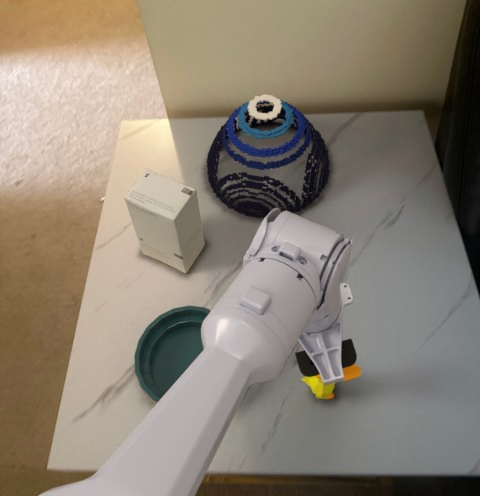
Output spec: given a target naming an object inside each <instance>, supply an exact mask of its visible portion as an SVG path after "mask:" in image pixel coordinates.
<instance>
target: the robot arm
mask: <svg viewBox="0 0 480 496" xmlns="http://www.w3.org/2000/svg"><path fill="white" fill-rule="evenodd" d="M271 210H272V211H271V212H270V213H269V214H268V215H267V216H266V217H265V218H264V217H263V220H262V221H261V223H260V225H259V227H258V229H257V231H256V233H255V235H254V237H253V239H252V242H251V244H250V245H249V248H248V249H247V250H246V252H245V254H244V255H243V257H242V258H243V259H242V269H241V270H240V272H238V275H237V276H236V277H235V279H234V280H233V281H232V283H231V284H230V285H229V286H228V288H227V289H226V291H225V292H224V293H223V295H222V296H221V297H220V298H219V300H218V301H217V302H216V304H215V305H214V306H213V307H212V309H210V310H211V311H210V313H209V314H208V316H207V317H206V318H205V319H204V321H203V323H202V326H201V339H202V344H203V349H204V350H203V351H202V352H201V354H200V355H199V356H198V357H197V358H196V359H195V360H194V362H193V363H192V364H191V365H190V366H189V367H188V368H187V370H186V371H185V372H184V373H183V374H182V375H181V376H180V378H179V379H178V380H177V381H176V382H175V383H174V384H173V386H172V387H171V388H170V389H169V390H168V391H167V392H166V394H165V395H164V396H163V397H162V398H161V399H160V400H159V402H158V403H157V404H156V405H155V404H154V406H153V407H152V408H151V409H150V410H149V412H148V413H147V414H146V415H145V416H144V417H143V419H142V420H141V421H140V422H139V423H138V424H137V426H135V427H134V429H133V430H132V431H131V432H130V433H129V435H127V437H126V438H125V439H124V440H123V442H121V444H120V445H119V446H118V447H117V448H116V450H114V452H113V453H112V454H111V455H110V456H109V457H108V458H107V459H106V461H105V462H104V463H103V464H102V465H101V467H99V469H98V470H97V471H96V472H95V473H94V474H92V475H91V476H89V477H87V478H85V479H83V480H78V481H74V482H70V483H67V484H63V485H58V486H55V487H51V488H50V489H48V490H46V491H44V492H41V493H40V494H38V495H37V496H196V494H197V493H198V491H199V489H200V486H201V484H202V482H203V480H204V478H205V476H206V474H207V473H208V470H209V468H210V467H211V465H212V462H213V460H214V458H215V456H216V454H217V452H218V450H219V448H220V446H221V443H222V442H223V439H224V437H225V436H226V434H227V431H228V429H229V427H230V425H231V424H232V421H233V419H234V417H235V415H236V412H237V411H238V409H239V407H240V405H241V403H242V400H243V399H244V397H245V395H246V392H247V391H248V389H249V387H250V386H252V385H257V384H263V383H264V384H265V383H268V382H270V381H273V380H274V379H275V378H277V376H278V375H279V374H280V372H281V371H282V368H283V366H284V365H285V363H286V361H287V360H288V358H289V356H290V354H291V353H292V351H293V349H294V347H295V345H296V344H297V342H298V343H299V345H300V346H301V347H302V349H303V350H300V351H297V352H296V351H295V352H294V356H295V358H296V363H297V366H298V368H299V371H300V373H301V374H302V375H303V376H304V377H313V376H316V375H320V376H321V379H322V382H323V385H328V384H332V383H335V384H336V383H339V382H344V381H343V380H344V374H343V370H342V368H346V367H350V366H352V365H353V364H355V365H356V362H357V358H358V355H357V351H356V348H355V344H354V342H353V339H352V338H347V339H344V340H343V323H344V322H343V321H344V309H345V307H347V306H351V305H352V304H353V302H354V296H353V293H352V290H351V286H350V285H349V283H347V282H342V281H343V279H344V277H345V274H346V271H347V269H348V265H349V262H350V259H351V254H352V248H353V241H354V239H353V237H352V238H348V237H345V234H344V233H342V232H339V231H337V230H336V229H335V230H334V229H333V228H330V227H327V226H326V225H322V224H321V223H318V222H315V221H313V220H310V219H309V218H305V217H303V216H300V215H299V214H297V213H295V212H294V213H291V212H289V210H285V211H283V210H281V209H280V207H276V208H275V209H271Z"/></svg>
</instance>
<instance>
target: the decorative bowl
mask: <svg viewBox="0 0 480 496" xmlns="http://www.w3.org/2000/svg"><path fill="white" fill-rule="evenodd" d="M278 119H279V120H283V122H277V120H278ZM258 120H260V123H259V122H258ZM249 123H250V124H249ZM237 124H238V125H237ZM275 125H276V126H278V127H275V128H273V129H271V130H265V129H264V130H263V131H262V130H259V129H258V128H254V127H258V126H259V127H261V126H275ZM237 127H238V128H237ZM251 127H252V128H251ZM288 129H292V130H295V132H294V133H295V134H294V135H293V136H292V138H291V139H289V141H285V143H283V144H282V145H281V144H279V145H278V147H276V146H275V147H274V148H273V147H266V148H263V147H261V148H255V146H252V145H251V144H247V143H244V142H243V140H242V139H241V138H239V135H238V134H237V132H240V131H241V132H242V133H244V134H245V135H249V137H254V139H258V140H263V139H265V140H267V139H274V138H278V137H280V136H283V135H285V133H287V132H288ZM304 135H305V136H304ZM303 137H304V140H303ZM301 140H303V143H302V144H301V145H300V146H298V144H300V142H301ZM228 141H229V142H230V143H231V145H232V146H234V147H235V148H236V150H239V151H240V152H242V153H243V154H247V156H250V157H251V156H252V157H257V158H264V159H266V157H267V158H272V157H276V158H277V157H278V156H279V157H280V156H283V155H285V154H287V153H289V152H291V151H293V149H295V148H297V147H298V149H297V150H295V152H293V153H291V154H289V155H288V157H286V156H285V157H284V158H283V157H282V159H280V160H279V159H278V160H271V161H267V162H266V163H264V162H263V161H257V160H251V159H249V160H247V157H244V155H241V154H240V153H235V150H234V149H231V146H229V142H228ZM311 142H312V145H311V149H310V152H309V153H308V154H307V158H306V163H305V167H304V168H305V170H304V174H305V175H304V176H303V181H304V182H303V183H302V187H301V195H300V197H299V196H298V195H297V192H296V191H294V190H293V189H290V187H289V186H288V185H284V182H281V180H279V179H276V178H275V177H270V176H268V175H264V176H260V175H254V174H248V172H246V171H242V172H233V173H229V174H227V175H224V176H223V177H221V178H219V180H218V172H219V171H218V170H219V162H220V157H221V154H220V152H221V151H222V147H223V148H224V151H225V153H226V154H227V155H228V156H229V158H231V159H232V160H233V161H234V162H238V164H241V166H246V168H249V169H255V170H261V171H265V170H271V169H272V170H276V169H280V168H282V167H287V166H288V165H290V164H293V163H295V162H297V159H298V160H299V159H300V158H302V156H304V154H305V152H307V148H310V144H311ZM312 157H313V158H312ZM329 157H330V156H329V149H327V146H326V141H325V139H324V138H323V137H322V134H321V133H320V131H319V130H317V129H315V127H314V124H313V123H311V122H310V120H309V119H308V118H307V117H306V116H305V115H304V114H303V113H302V111H300V110H299V109H297V106H294V105H292V104H291V103H289V102H287V101H283V100H282V99H280V98H278V97H277V96H276V97H275V96H274V95H273V94H272V95H271V94H265V93H263V94H262V95H254V98H252V99H251V100H248V101H247V102H245V103H242V105H241V106H238V108H236V109H234V110H233V112H232V113H231V114H230V116H228V118H227V120H226V121H225V123H224V124H223V125H221V126H220V129H219V130H218V131H217V133H216V135H215V137H214V139H213V141H212V143H211V145H210V147H209V151H208V153H207V157H206V169H207V173H206V174H207V181H208V182H209V186H210V188H211V189H212V193H214V194H215V195H216V198H218V199H219V200H220V202H221V203H223V204H224V206H226V207H227V208H228V209H231V210H233V211H235V212H238V214H243V215H244V216H245V217H250V218H255V219H256V218H257V219H262V218H263V219H264V218H265V217H266V216H267V215H268V214H269V213H270V212H271V211H272V210H273V209H275V208H277V206H278V207H279V208H281V209H280V210H282V212H283V211H286V210H288V211H289V212H291V213H294V214H295V213H299V212H300V211H301V209H303V210H304V209H306V208H307V206H309V205H311V204H313V202H315V201H316V199H318V198H320V194H321V193H322V192H323V189H325V188H326V187H325V186H326V184H328V181H329V178H330V177H329V176H330V172H331V169H330V158H329ZM321 163H322V164H321ZM319 172H320V174H319ZM244 178H246V179H244ZM233 181H237V182H236V183H231V182H233ZM239 181H240V182H239ZM228 182H230V183H231V184H229V185H227V186H225V185H226V184H227V183H228ZM265 182H266V183H265ZM269 185H270V186H272V187H274V188H278V189H275V190H274V189H273V188H272V187H269ZM317 185H318V186H317ZM223 187H224V188H223ZM221 188H223V190H221ZM249 189H251V190H252V189H253V190H257V191H258V192H253V191H250V190H249ZM278 190H279V191H280V192H283V193H284V194H285V195H286V196H289V197H285V196H284V195H282V194H281V193H280V192H279V191H278ZM268 192H269V193H268ZM241 193H243V194H241ZM244 193H247V194H248V195H245V194H244ZM236 194H238V195H236ZM234 195H236V196H234ZM259 195H261V196H263V197H265V198H262V197H258V196H259ZM225 196H226V197H225ZM233 196H234V197H233ZM266 198H268V199H270V200H271V201H273V202H274V203H277V206H276V205H275V204H273V203H272V202H271V201H268V200H267V199H266ZM300 198H301V199H300ZM288 199H289V200H291V201H289V200H288ZM239 200H240V201H239ZM255 200H256V201H255ZM236 202H237V203H236ZM235 203H236V204H235ZM292 203H294V204H292ZM301 203H302V204H301ZM234 204H235V205H234ZM265 204H266V205H267V206H266V205H265ZM285 207H286V208H285ZM250 210H252V211H255V212H257V213H254V212H251V211H250ZM249 211H250V212H249Z"/></svg>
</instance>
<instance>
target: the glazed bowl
mask: <svg viewBox="0 0 480 496" xmlns="http://www.w3.org/2000/svg"><path fill="white" fill-rule="evenodd" d="M211 310H212V309H210V308H208V307H204V306H196V305H185V306H179V307H172V309H170V310H167V311H165V312H163V313H162V314H159V315H158V316H157V317H155V319H154V320H153V321H151V322H150V323H149V324H148V325H147V326H146V328H145V329H144V331H143V333H141V335H140V337H139V339H138V341H137V344H136V348H135V352H134V355H133V356H134V357H133V358H134V359H133V360H134V374H135V377H136V378H137V379H136V380H137V381H138V383H139V386H140V388H141V390H142V391H143V392H144V394H145V395H146V397H147V398H148V399H149V400H150V401H151V402H152V403H153V405H154V406H155V405H156V404H157V403H158V402H159V400H160V399H161V398H162V397H163V396H164V395H165V394H166V392H167V391H168V390H169V389H170V388H171V387H172V386H173V384H174V383H175V382H176V381H177V380H178V379H179V378H180V376H181V375H182V374H183V373H184V372H185V371H186V370H187V368H188V367H189V366H190V365H191V364H192V363H193V362H194V360H195V359H196V358H197V357H198V356H199V355H200V354H201V352H202V351H203V350H204V349H203V344H202V339H201V326H202V323H203V321H204V319H205V318H206V317H207V316H208V314H209V313H210V311H211Z"/></svg>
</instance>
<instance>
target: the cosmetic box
mask: <svg viewBox="0 0 480 496" xmlns="http://www.w3.org/2000/svg"><path fill="white" fill-rule="evenodd" d="M123 199H124V201H125V204H126V208H127V210H128V214H129V216H130V219H131V223H132V225H133V229H134V232H135V235H136V238H137V241H138V245H139V248H140V250H141V253H142V254H143V255H144V256H148V257H150V258H153V259H155V260H157V261H160V262H162V263H164V264H166V265H168V266H170V267H172V268H174V269H175V270H178V271H179V272H181V273H183V274H187V273H188V272H189V270H190V269H191V267H192V266H193V265H194V263H195V261H196V259H197V258H198V257H199V255H200V254H201V252H202V251H203V248H204V247H205V246H206V242H205V237H204V230H203V224H202V218H201V217H202V216H201V211H200V205H199V199H198V191H197V189H196V188H195V187H192V186H189V185H187V184H184V183H182V182H180V181H177V180H176V179H175V178H173V177H171V176H167V175H163V174H161V173H160V174H159V173H158V172H156V171H153V170H151V169H149V168H145V169H144V170H143V172H142V173H141V174H140V176H139V177H138V178H137V180H136V181H135V182H134V184H133V185H132V186H131V188H130V189H129V190H128V191H127V193H126V194H125V195H124V197H123Z"/></svg>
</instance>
